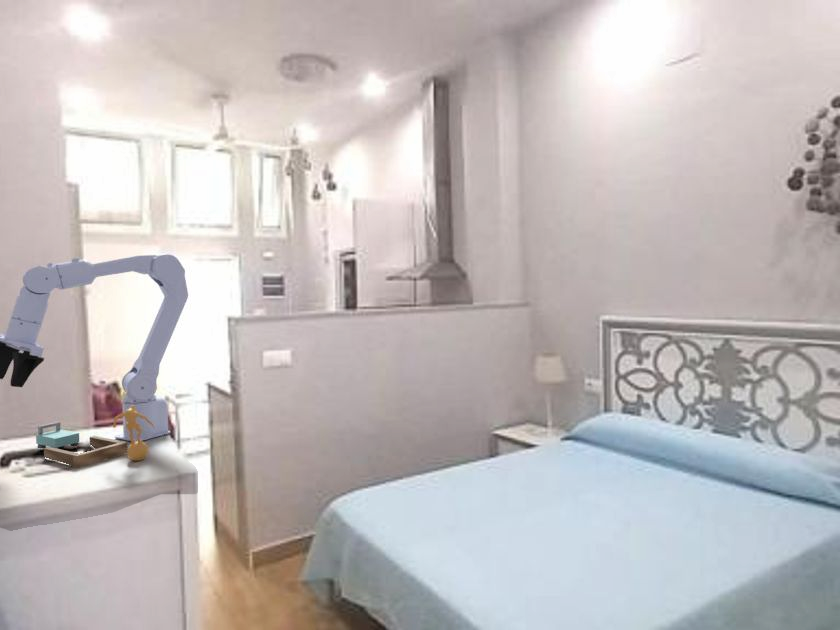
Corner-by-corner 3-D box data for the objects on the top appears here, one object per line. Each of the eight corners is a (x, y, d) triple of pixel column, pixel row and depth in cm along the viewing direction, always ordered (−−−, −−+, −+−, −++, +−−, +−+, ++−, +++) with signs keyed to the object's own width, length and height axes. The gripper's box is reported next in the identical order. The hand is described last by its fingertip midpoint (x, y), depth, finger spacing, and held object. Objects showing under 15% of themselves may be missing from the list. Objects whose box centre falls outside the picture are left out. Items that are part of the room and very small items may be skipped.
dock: (95, 446, 130) (94, 435, 130) (127, 453, 124) (127, 442, 124) (44, 459, 120) (43, 448, 120) (77, 467, 115) (76, 456, 115)
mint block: (60, 444, 131) (59, 421, 130) (79, 449, 128) (78, 425, 127) (36, 450, 126) (35, 426, 126) (55, 455, 123) (54, 430, 123)
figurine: (162, 457, 122) (160, 401, 121) (149, 466, 116) (147, 407, 115) (122, 457, 122) (121, 401, 121) (107, 466, 116) (105, 407, 115)
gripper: (-12, 311, 123) (-33, 372, 122) (26, 323, 117) (5, 388, 115) (22, 317, 130) (3, 376, 128) (60, 329, 123) (40, 391, 122)
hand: (6, 382), depth 122 cm, fingers open, 7 cm apart
